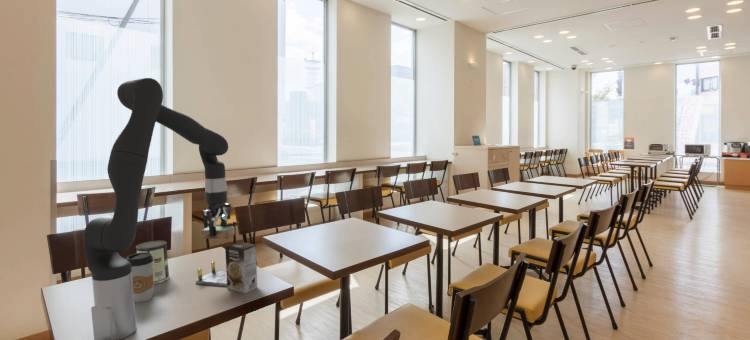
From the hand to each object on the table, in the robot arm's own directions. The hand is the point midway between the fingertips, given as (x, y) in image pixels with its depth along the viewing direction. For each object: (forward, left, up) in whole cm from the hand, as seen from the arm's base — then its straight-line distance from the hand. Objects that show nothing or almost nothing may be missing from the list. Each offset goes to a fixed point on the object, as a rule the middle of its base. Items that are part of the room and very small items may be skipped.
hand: (218, 233), depth 148 cm
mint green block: (0, 0, -1) cm, 1 cm away
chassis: (0, 0, -18) cm, 18 cm away
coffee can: (-6, +25, -18) cm, 32 cm away
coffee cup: (-21, +16, -18) cm, 32 cm away
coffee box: (-6, -13, -18) cm, 23 cm away
